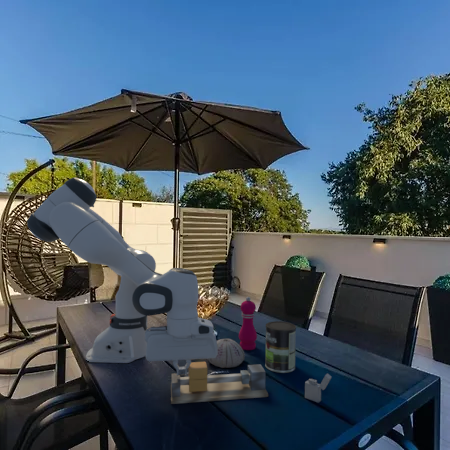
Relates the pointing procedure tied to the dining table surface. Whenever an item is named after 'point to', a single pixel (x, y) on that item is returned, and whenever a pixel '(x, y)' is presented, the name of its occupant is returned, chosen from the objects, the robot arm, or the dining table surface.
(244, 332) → the pepper mill
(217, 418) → the dining table surface
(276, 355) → the coffee can
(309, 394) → the lighter
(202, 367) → the tan wooden block
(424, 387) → the dining table surface
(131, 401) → the dining table surface
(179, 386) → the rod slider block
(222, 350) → the sea urchin shell
